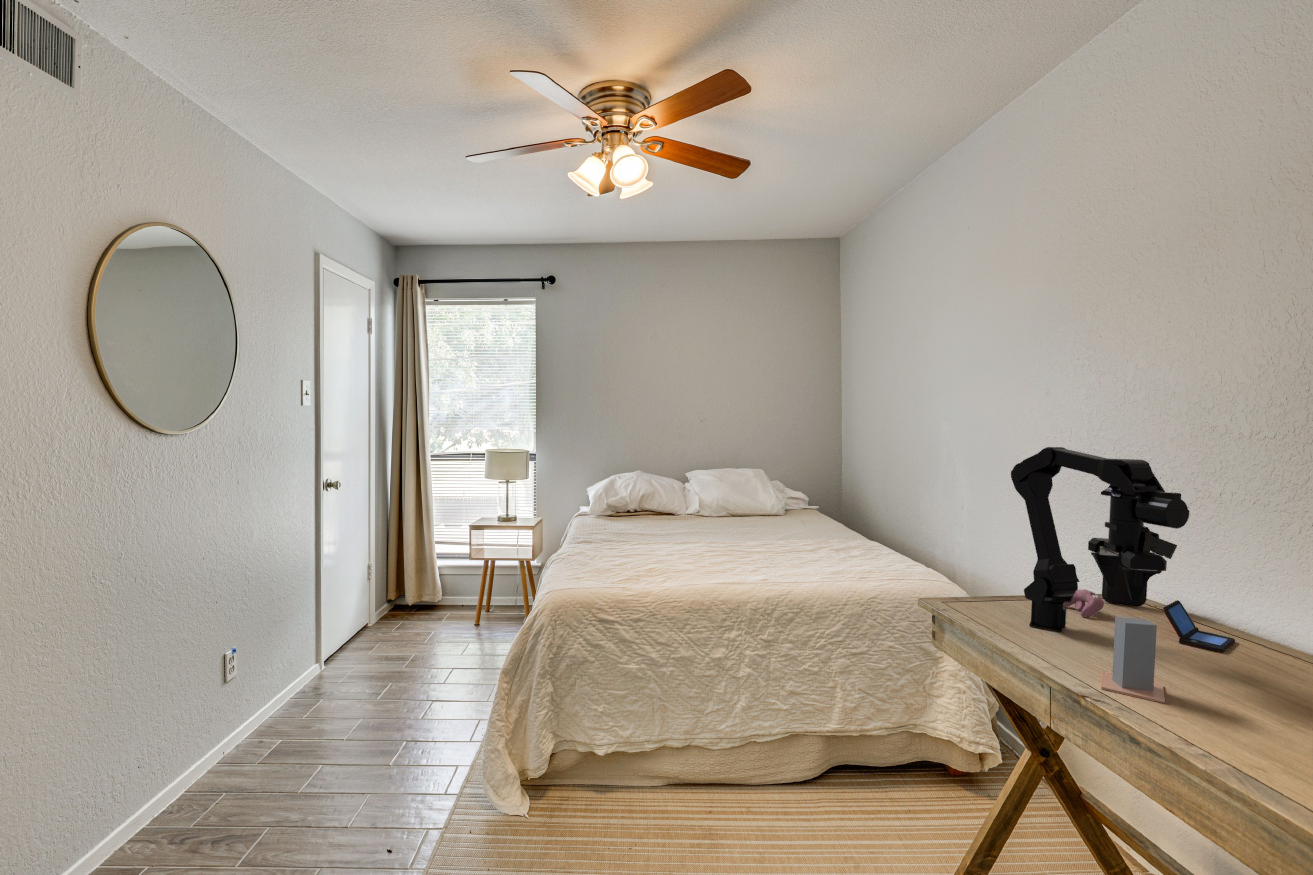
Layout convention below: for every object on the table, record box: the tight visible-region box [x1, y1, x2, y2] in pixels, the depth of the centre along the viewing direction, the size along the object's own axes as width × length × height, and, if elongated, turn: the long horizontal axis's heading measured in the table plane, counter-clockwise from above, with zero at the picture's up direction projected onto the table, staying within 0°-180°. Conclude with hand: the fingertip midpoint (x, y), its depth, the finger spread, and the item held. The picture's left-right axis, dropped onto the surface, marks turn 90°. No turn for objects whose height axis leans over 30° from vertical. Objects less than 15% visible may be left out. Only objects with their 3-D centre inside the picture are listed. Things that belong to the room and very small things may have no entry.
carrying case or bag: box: [1101, 563, 1148, 607], centre depth 167 cm, size 11×3×15 cm, turn 64°
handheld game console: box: [1162, 600, 1236, 654], centre depth 141 cm, size 12×11×7 cm
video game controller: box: [1064, 588, 1105, 619], centre depth 160 cm, size 10×5×7 cm, turn 1°
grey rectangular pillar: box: [1112, 616, 1158, 691], centre depth 115 cm, size 4×5×12 cm
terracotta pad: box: [1101, 671, 1166, 704], centre depth 115 cm, size 9×9×1 cm
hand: (1122, 594), depth 130 cm, fingers open, 9 cm apart
